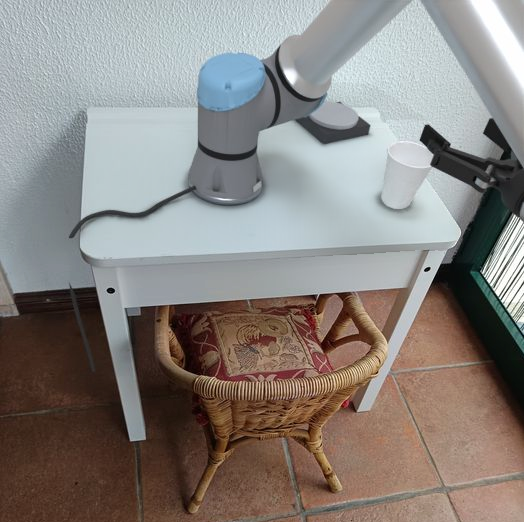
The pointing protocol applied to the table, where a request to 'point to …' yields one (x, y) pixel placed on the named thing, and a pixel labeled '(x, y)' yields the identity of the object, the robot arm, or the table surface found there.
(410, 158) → the cup
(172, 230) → the table surface
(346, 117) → the scale
